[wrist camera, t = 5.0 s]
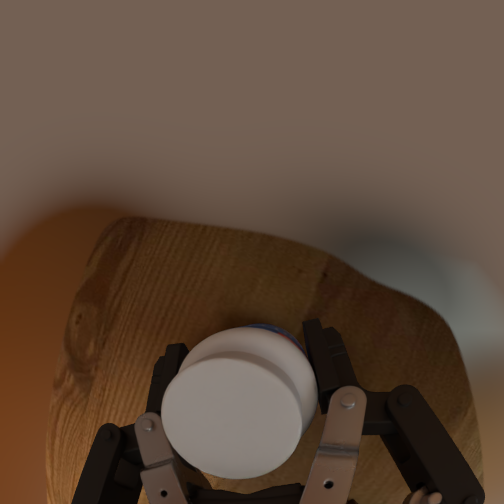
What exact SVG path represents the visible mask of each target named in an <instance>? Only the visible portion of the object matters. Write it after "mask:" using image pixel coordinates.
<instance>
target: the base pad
mask: <svg viewBox="0 0 504 504" xmlns="http://www.w3.org/2000/svg"><path fill="white" fill-rule="evenodd" d="M346 504H358V503H357V502H356V501H355V500H352V501H350V502H348V503H346Z"/></svg>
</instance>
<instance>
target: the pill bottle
mask: <svg viewBox="0 0 504 504" xmlns="http://www.w3.org/2000/svg"><path fill="white" fill-rule="evenodd" d="M317 404H318V387H317V381H316V377H315V374H314V371H313V369H312V366H311V364H310V362H309V360H308V358H307V356H306V354H305V352H304V350H303V348H302V346H301V345H300V343H299V342H298V341H297V339H296V338H295V337H294V336H293V335H291V334H290V333H289V332H287V331H286V330H284V329H282V328H280V327H278V326H275V325H271V324H263V323H260V324H251V325H247V326H242V327H237V328H232V329H228V330H225V331H221V332H218V333H216V334H213V335H211V336H210V337H208V338H206V339H204V340H203V341H201V342H200V343H199V344H197V345H196V346H195V347H194V348H193V349H192V350H191V351H190V352H189V354H188V355H187V356H186V358H185V359H184V361H183V363H182V365H181V367H180V369H179V372H178V374H177V375H176V376H175V377H174V378H173V380H172V381H171V382H170V384H169V385H168V387H167V389H166V391H165V393H164V396H163V400H162V406H161V419H162V424H163V428H164V431H165V433H166V436H167V438H168V440H169V441H170V443H171V445H172V446H173V448H174V449H175V450H176V451H177V452H178V454H179V455H180V456H181V457H183V458H184V459H185V460H186V461H187V462H188V463H190V464H191V465H193V466H194V467H196V468H198V469H199V470H201V471H203V472H205V473H208V474H211V475H214V476H218V477H222V478H228V479H247V478H254V477H257V476H261V475H264V474H266V473H269V472H271V471H273V470H274V469H276V468H278V467H279V466H280V465H282V464H283V463H284V462H285V461H286V460H287V459H288V458H289V457H290V456H291V455H292V453H293V452H294V450H295V448H296V446H297V444H298V442H299V440H300V438H301V437H302V435H303V434H304V433H305V432H306V431H307V429H308V427H309V426H310V424H311V422H312V420H313V418H314V415H315V412H316V409H317Z"/></svg>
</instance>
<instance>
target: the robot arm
mask: <svg viewBox="0 0 504 504" xmlns="http://www.w3.org/2000/svg"><path fill="white" fill-rule="evenodd" d="M303 330H304V337H305V344H306V350H307V354H308V358H309V362H310V364H311V366H312V369H313V371H314V374H315V377H316V381H317V387H318V400H319V405H320V409H321V414H322V415H323V414H327V417H326V422H325V426H324V430H323V433H322V437H321V441H320V444H319V447H318V449H317V451H316V454H315V457H314V461H313V464H312V467H311V471H310V474H309V477H308V480H307V483H306V486H303V485H301V484H300V483H295V484H288V485H281V486H273V487H270V488H267V489H264V490H261V491H258V492H254V493H251V494H240V493H235V492H230V491H225V490H213V489H212V487H211V485H210V483H209V481H208V480H207V479H206V477H205V476H204V475H203V474H202V472H201V471H200V470H199V469H198V468H196V467H194V466H193V465H191V464H190V463H188V462H187V461H186V460H185V459H184V458H183V457H181V456H180V455H179V454H178V452H177V451H176V450H175V449H174V448H173V446H172V445H171V443H170V441H169V440H168V438H167V436H166V433H165V431H164V428H163V424H162V419H161V406H162V400H163V396H164V393H165V391H166V389H167V387H168V385H169V384H170V382H171V381H172V380H173V378H174V377H175V376H176V375H177V374H178V372H179V369H180V367H181V365H182V363H183V361H184V359H185V358H186V356H187V355H188V354H189V350H188V348H187V347H186V345H185V344H184V343H177V344H169V345H168V346H167V348H166V353H165V356H160V357H159V359H158V361H157V362H156V364H155V365H154V370H153V376H152V380H151V385H150V390H149V396H148V401H147V406H146V411H145V413H144V414H142V415H140V416H139V417H138V418H137V420H136V422H135V423H134V424H131V425H127V426H124V427H120V428H119V427H118V426H116V425H115V424H113V423H106V424H104V425H102V426H101V427H100V428H99V430H98V432H97V434H96V437H95V439H94V442H93V444H92V447H91V449H90V452H89V455H88V457H87V460H86V463H85V465H84V468H83V471H82V474H81V476H80V479H79V482H78V485H77V488H76V491H75V494H74V497H73V500H72V503H71V504H137V503H138V499H139V496H140V492H141V489H142V486H144V489H145V492H146V495H147V498H148V500H149V503H150V504H346V502H347V499H348V495H349V492H350V488H351V484H352V480H353V477H354V473H355V468H356V464H357V459H358V454H359V444H360V439H361V435H380V437H381V439H382V441H383V442H384V444H385V446H386V448H387V449H388V451H389V453H390V455H391V456H392V458H393V460H394V462H395V463H396V465H397V467H398V469H399V470H400V472H401V474H402V476H403V478H404V479H405V481H406V483H407V485H408V487H409V488H410V490H411V493H410V494H409V495H407V497H406V498H405V499H404V501H403V504H483V503H484V500H485V493H484V490H483V488H482V487H481V485H480V483H479V482H478V480H477V478H476V476H475V475H474V473H473V472H472V470H471V468H470V467H469V465H468V463H467V462H466V460H465V459H464V457H463V455H462V454H461V452H460V451H459V449H458V448H457V446H456V445H455V443H454V442H453V440H452V439H451V437H450V436H449V434H448V433H447V431H446V430H445V428H444V427H443V425H442V424H441V422H440V421H439V419H438V418H437V416H436V415H435V413H434V412H433V411H432V409H431V408H430V406H429V405H428V403H427V402H426V401H425V399H424V398H423V396H422V395H421V394H420V392H419V391H418V390H417V389H416V388H415V387H413V386H411V385H400V386H397V387H396V388H394V389H393V390H392V391H391V392H370V391H367V390H365V389H363V388H362V387H361V386H360V385H359V383H358V382H357V379H356V376H355V374H354V371H353V368H352V365H351V362H350V359H349V357H348V354H347V351H346V348H345V346H344V343H343V340H342V338H341V335H340V333H338V332H337V331H336V330H335V329H334V328H333V327H329V328H325V329H322V326H321V323H320V320H319V318H316V319H312V320H308V321H303Z"/></svg>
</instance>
